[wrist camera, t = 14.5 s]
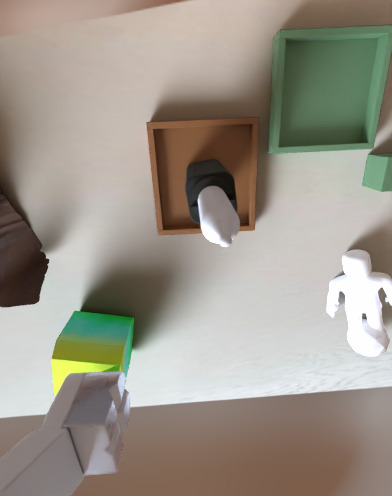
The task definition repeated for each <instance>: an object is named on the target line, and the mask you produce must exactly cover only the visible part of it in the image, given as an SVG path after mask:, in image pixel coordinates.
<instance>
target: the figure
mask: <svg viewBox="0 0 392 496" xmlns="http://www.w3.org/2000/svg"><path fill="white" fill-rule="evenodd" d="M342 262H343V268H344V272H345V275H342V276H339V277H336V278H334V279H333V280H332V281H331V282H330V291H329V294H328V298H327V312H328V313H329V314H330V315H331V316H332V317H334V318H335V317H336V316H335V311H336V310H337V309H338V306H340V303H339V302H338V298H339V292H340V291H343V292H344V294H345V298H346V303H345V309H346V313H347V318H348V322H349V329H348V332H347V337H348V341H349V343H350V345H351V346H352V347H353V349H354V350H355V351H356V352H358V353H360V354H363V355H365V356H378V355H380V354H382V353H384V352H386V350H387V347H388V344H389V341H390V340H389V337H388V335H387V333H386V330H385V328H384V325H383V321H382V310H381V307H382V304H381V302H380V300H379V297H378V290H379V289H380V288H381V287H383V289H384V291H385V293H386V294H387V297H386V298H385V302H388V301H389V303H390V304H391V306H392V278H391V277H390V276H389V275H387V274H385V273H381V272H371V271H372V267H371V259H370V255H369V254H368V253H367V252H366V251H364V250H350V251H348V252H346V253H345V254H344V255H343V257H342ZM362 313H366V315H367V320H366V319H362Z"/></svg>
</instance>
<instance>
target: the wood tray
mask: <svg viewBox="0 0 392 496" xmlns="http://www.w3.org/2000/svg"><path fill="white" fill-rule="evenodd" d="M258 127H259V117H247V118H227V119H207V120H186V121H166V122H147V132H148V142H149V151H150V161H151V171H152V180H153V190H154V199H155V209H156V218H157V228H158V235H173V234H193V233H203V232H202V229H201V224H198V223H195V222H194V221H193V220H192V219H191V217H190V213H189V208H188V202H187V197H186V192H185V180H186V169H187V166H188V165H189V164H191V163H194V162H199V161H205V160H210V159H216V160H218V161H219V162H220V163H221V164H222V165H223V166H224V167H225V168H226V169H227V170H228V171H229V173H230V174H231V175H232V176H233V178H234V181H235V189H236V198H237V206H238V210H237V215H238V217H239V220H240V228H239V231H252V230H255V205H256V179H257V153H258Z"/></svg>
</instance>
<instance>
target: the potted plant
mask: <svg viewBox="0 0 392 496" xmlns="http://www.w3.org/2000/svg"><path fill="white" fill-rule="evenodd" d="M15 211H16V210H15V209H13V208H12V206H11V205H10V203H9V202H8V199H7V198H4V196H3V195H1V190H0V307H13V306H20V305H28V304H29V305H31V304H32V305H33V304H35V303H37V302H39V298H40V296H39V295H40V291H41V287H42V284H43V281H44V277H45V276H44V275H45V274H46V272H47V269H48V265H47V264H48V263H49V259H46V255H45V254H44V253H43V252H41V251H40V249H41V247H42V245H41V243H40V242H39V240H38V239H37V237H36V236H35V234H34V233H33V231H32V230H31V229H30V228H29V226H28V225H27V223H26V222H25V221H23V218H22V217H21V216H20V214H17V213H16V212H15Z"/></svg>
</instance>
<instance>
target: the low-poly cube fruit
mask: <svg viewBox="0 0 392 496" xmlns="http://www.w3.org/2000/svg"><path fill="white" fill-rule="evenodd" d="M133 330H134V318H133V317H125V316H116V315H107V314H98V313H89V312H80V311H74V313H73V315H72V316H71V318H70V319H69V321H68V323H67V324H66V326H65V327H64V329H63V331H62V332H61V334H60V335H59V337H58V338H57V340H56V344H55V348H54V352H53V355H52V359H51V360H52V376H53V392H54V395H57V393H58V391H59V389H60V387H61V385H62V383H63V382H64V380H65V378H66V377H67V376H68V375H69V374H70V373H88V372H117V371H122V372H124V374H125V378H126V376H127V372H128V368H129V364H130V358H131V352H132V342H133Z"/></svg>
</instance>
